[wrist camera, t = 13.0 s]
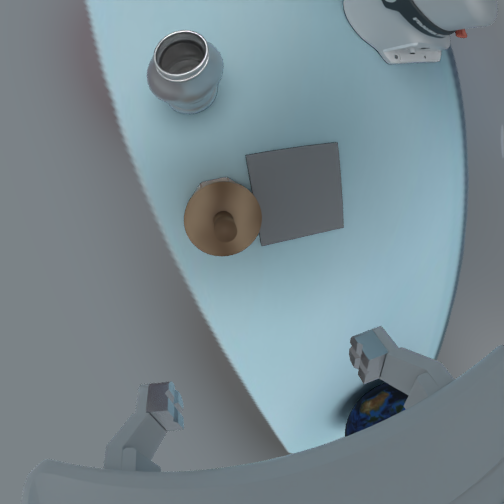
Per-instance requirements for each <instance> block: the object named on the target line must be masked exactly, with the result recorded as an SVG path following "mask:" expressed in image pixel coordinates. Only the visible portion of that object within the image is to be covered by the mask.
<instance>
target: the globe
mask: <svg viewBox="0 0 504 504" xmlns="http://www.w3.org/2000/svg"><path fill="white" fill-rule="evenodd" d="M408 396H409V395H407V394H405V393H403V392H402V391H400V390H398V389H396V388H395V387H393V386H391V385H389V384H388V383H385V384H382V385H380V386H378V387H376V388H374V389H372V390H371V391H369V392H368V393H367V394H365V395H364V396H363V397H362V398H361V399H360V400H359V401H358V403H357V404H356V405H355V407H354V408H353V410H352V411H351V413H350V415H349V418H348V420H347V424H346V429H345V437H346V436H349V435H351V434H354V433H356V432H359V431H361V430H364V429H366V428H368V427H371V426H373V425H375V424H377V423H379V422H382V421H384V420H386V419H388V418H390V417H392V416H394V415H396V414H398V413H400V412H402V411H404V410H406V409H405V408H404V404H405V402H406V400H407V398H408Z"/></svg>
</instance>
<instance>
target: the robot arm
mask: <svg viewBox="0 0 504 504" xmlns="http://www.w3.org/2000/svg"><path fill="white" fill-rule="evenodd" d="M343 5H344V11H345V14H346V16H347V19H348V20H349V22H350V24H351V25H352V27H353V28H354V30H355V31H356V32H357V33H358V34H359V35H360V36H361V37H362V38H363V39H364V40H365V41H366V42H367V43H369V44H370V45H371V46H373V47H374V48H375V49H376V50H377V51H378V52H379V53H380V55H381V56H382V58H383V59H384V60H385V61H386V62H387V63H388V64H403V63H424V62H438V61H440V58H441V50H446V49H448V48H449V46H450V34H452V33H454V32H455V33H456V36H457V37H460V38H466V37H467V34H466V32H465V29H468V28H477V27H486V26H489V25H491V24H492V23H493V22H494V21H495V20H496V17H497V13H498V4H497V0H344V1H343ZM394 56H395V57H394ZM395 58H396V59H395ZM350 343H351V345H352V346H351V348H350V349H349V356H350V360H351V363H352V365H353V366H354V368H357V369H359V371H358V375H359V377H360V379H361V380H362V382H363V384H366V383H369V382H371V381H374V380H376V379H379V378H380V379H381V380H383V381H384V382H386V383H388V384H389V385H391V386H393V387H395V388H396V389H398V390H400V391H402V392H403V393H405V394H407V395H409V396H408V398H407V400H406V402H405V404H404V408H405V409H406V410H404V411H402V412H400V413H398V414H396V415H394V416H392V417H390V418H388V419H386V420H384V421H382V422H379V423H377V424H375V425H373V426H371V427H368V428H366V429H364V430H361V431H359V432H356V433H354V434H351V435H349V436H346V437H344V438H341V439H338V440H335V441H333V442H330V443H327V444H324V445H321V446H318V447H315V448H311V449H308V450H305V451H301V452H298V453H294V454H290V455H286V456H282V457H278V458H274V459H269V460H265V461H260V462H255V463H250V464H244V465H238V466H232V467H224V468H215V469H207V470H194V471H177V472H176V471H175V472H161V468H160V467H159V466H158V465H156V464H155V463H154V462H152V461H151V459H152V458H153V456H154V454H155V452H156V451H157V449H158V447H159V445H160V444H161V442H162V440H163V438H164V436H165V435H166V433H167V432H166V431H174V430H183V429H184V425H183V424H184V422H183V416H182V415H181V414H180V413H181V412H182V411H183V401H182V397H181V395H180V393H179V392H178V391H176V390H175V389H174V388H175V386H174V384H173V383H172V382H162V383H151V384H142V385H140V386H139V388H138V396H137V404H136V411H135V414H132V415H131V416H130V418H129V419H128V420H127V421H126V422H125V424H124V425H123V426H122V427H121V428H120V430H119V431H118V432H117V433H116V435H115V436H114V437H113V438H112V440H111V441H110V442H109V443H108V444H107V446H106V452H105V460H104V469H101V468H95V467H87V466H80V465H76V464H70V463H65V462H61V461H56V460H52V459H44V460H43V461H41V462H40V463H39V464H38V465H37V466H36V467H35V468H34V469H33V470H32V471H31V472H30V473H29V474H28V476H27V478H26V481H25V484H24V488H23V494H22V499H21V504H504V345H500V346H498V347H497V348H495V349H494V350H493V351H492V352H491V353H489V354H488V355H487V356H486V357H485V358H483V359H482V360H481V361H480V362H478V363H477V364H476V365H474V366H473V367H472V368H471V369H469V370H468V371H466V372H465V373H464V374H462V375H461V376H459V377H458V378H457V379H454V378H453V377H452V375H451V374H450V373H449V372H448V370H447V369H446V368H445V367H444V365H443V364H442V363H441V362H439V361H436V360H434V359H431V358H428V357H426V356H423V355H421V354H418V353H415V352H413V351H410V350H408V349H405V348H402V347H400V348H398V346H397V345H396V344H395V343H394V341H393V340H392V339H391V337H390V336H389V335H388V334H387V332H386V331H385V330H384V329H383V327H381V326H379V327H377V328H374V329H371V330H368V331H366V332H363V333H361V334H358V335H355V336H353V337H351V340H350Z"/></svg>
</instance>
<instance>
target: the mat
mask: <svg viewBox="0 0 504 504" xmlns="http://www.w3.org/2000/svg"><path fill="white" fill-rule="evenodd" d="M246 161H247V166H248V172H249V177H250V183H251V189H252V194H253V195H254V196H255V198H256V199H257V201H258V203H259V205H260V208H261V213H262V223H261V228H260V231H259V235H260V241H261V245H262V246H265V245H269V244H274V243H278V242H282V241H287V240H291V239H295V238H300V237H304V236H309V235H313V234H317V233H322V232H326V231H331V230H335V229H339V228H344V225H343V202H342V186H341V172H340V161H339V151H338V143H336V142H335V143H325V144H316V145H308V146H300V147H293V148H286V149H279V150H273V151H267V152H261V153H255V154H250V155H246Z"/></svg>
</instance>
